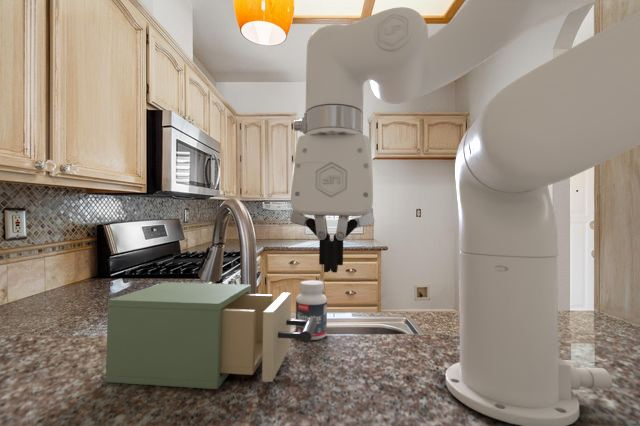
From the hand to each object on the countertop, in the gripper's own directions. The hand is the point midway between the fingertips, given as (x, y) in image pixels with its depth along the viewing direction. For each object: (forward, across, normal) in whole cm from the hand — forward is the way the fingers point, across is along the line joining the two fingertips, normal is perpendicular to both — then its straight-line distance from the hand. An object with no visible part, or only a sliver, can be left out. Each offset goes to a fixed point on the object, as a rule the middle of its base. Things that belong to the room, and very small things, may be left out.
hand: (331, 270), depth 41 cm
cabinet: (+13, -19, 0) cm, 23 cm away
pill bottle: (+13, -4, +13) cm, 19 cm away
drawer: (+12, -10, 0) cm, 16 cm away
